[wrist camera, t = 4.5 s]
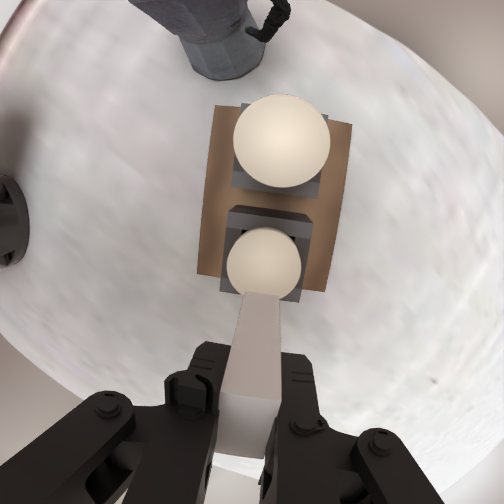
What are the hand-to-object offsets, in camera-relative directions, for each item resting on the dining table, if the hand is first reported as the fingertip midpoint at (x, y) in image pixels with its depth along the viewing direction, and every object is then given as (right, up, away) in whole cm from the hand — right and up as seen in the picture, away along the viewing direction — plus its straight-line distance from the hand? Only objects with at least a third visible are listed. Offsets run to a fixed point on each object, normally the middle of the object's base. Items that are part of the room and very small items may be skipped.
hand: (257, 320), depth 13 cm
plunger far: (+1, +4, +17) cm, 17 cm away
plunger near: (+2, +12, +11) cm, 16 cm away
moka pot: (-3, +26, +15) cm, 30 cm away
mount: (+2, +9, +19) cm, 21 cm away
